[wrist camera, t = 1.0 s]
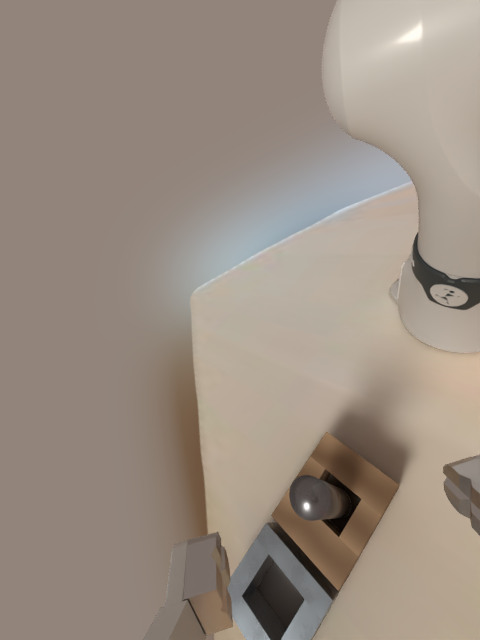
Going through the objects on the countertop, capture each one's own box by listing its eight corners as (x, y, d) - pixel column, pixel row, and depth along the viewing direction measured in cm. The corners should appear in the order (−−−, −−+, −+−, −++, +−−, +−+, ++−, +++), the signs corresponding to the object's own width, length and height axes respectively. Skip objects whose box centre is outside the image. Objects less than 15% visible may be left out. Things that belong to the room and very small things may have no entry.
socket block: (278, 522, 36) (266, 523, 33) (339, 591, 30) (332, 600, 27) (236, 586, 34) (219, 594, 31) (292, 673, 29) (279, 694, 25)
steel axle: (333, 481, 36) (303, 466, 24) (356, 500, 34) (335, 494, 22) (319, 503, 35) (281, 498, 23) (342, 524, 33) (313, 531, 21)
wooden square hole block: (332, 438, 39) (326, 431, 35) (398, 487, 33) (399, 484, 29) (282, 515, 36) (271, 515, 33) (344, 582, 31) (338, 591, 27)
